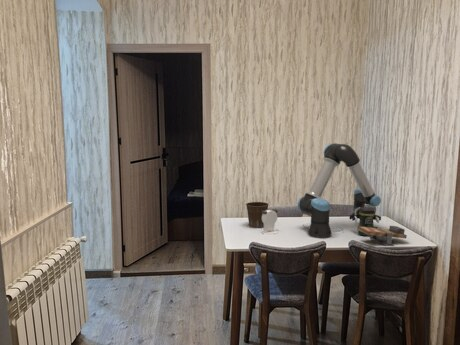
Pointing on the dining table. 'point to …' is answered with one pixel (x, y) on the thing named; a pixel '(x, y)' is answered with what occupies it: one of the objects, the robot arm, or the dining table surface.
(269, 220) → the white sculpture
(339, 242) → the dining table surface
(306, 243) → the dining table surface
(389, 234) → the beam stand
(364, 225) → the coffee jar
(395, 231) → the seesaw beam
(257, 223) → the plant pot
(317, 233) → the robot arm
